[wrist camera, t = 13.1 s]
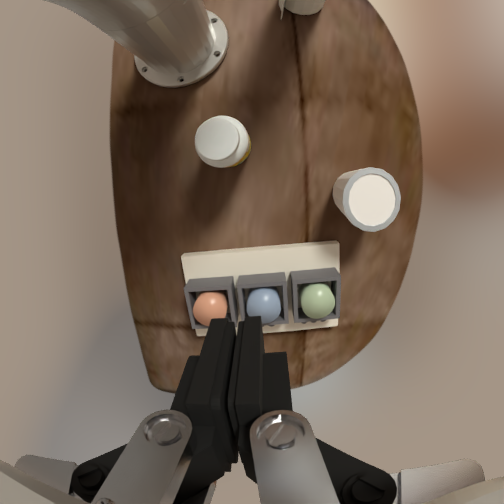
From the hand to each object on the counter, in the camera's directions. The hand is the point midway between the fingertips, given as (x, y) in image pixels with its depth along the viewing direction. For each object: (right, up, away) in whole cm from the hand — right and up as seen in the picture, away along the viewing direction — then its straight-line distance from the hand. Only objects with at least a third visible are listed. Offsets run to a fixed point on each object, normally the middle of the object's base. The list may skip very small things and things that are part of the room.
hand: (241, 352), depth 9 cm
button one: (-5, -3, +27) cm, 28 cm away
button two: (+2, -2, +27) cm, 27 cm away
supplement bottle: (-2, +16, +24) cm, 29 cm away
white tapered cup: (+13, +11, +25) cm, 30 cm away
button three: (+8, -2, +26) cm, 28 cm away
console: (+2, -2, +29) cm, 29 cm away
